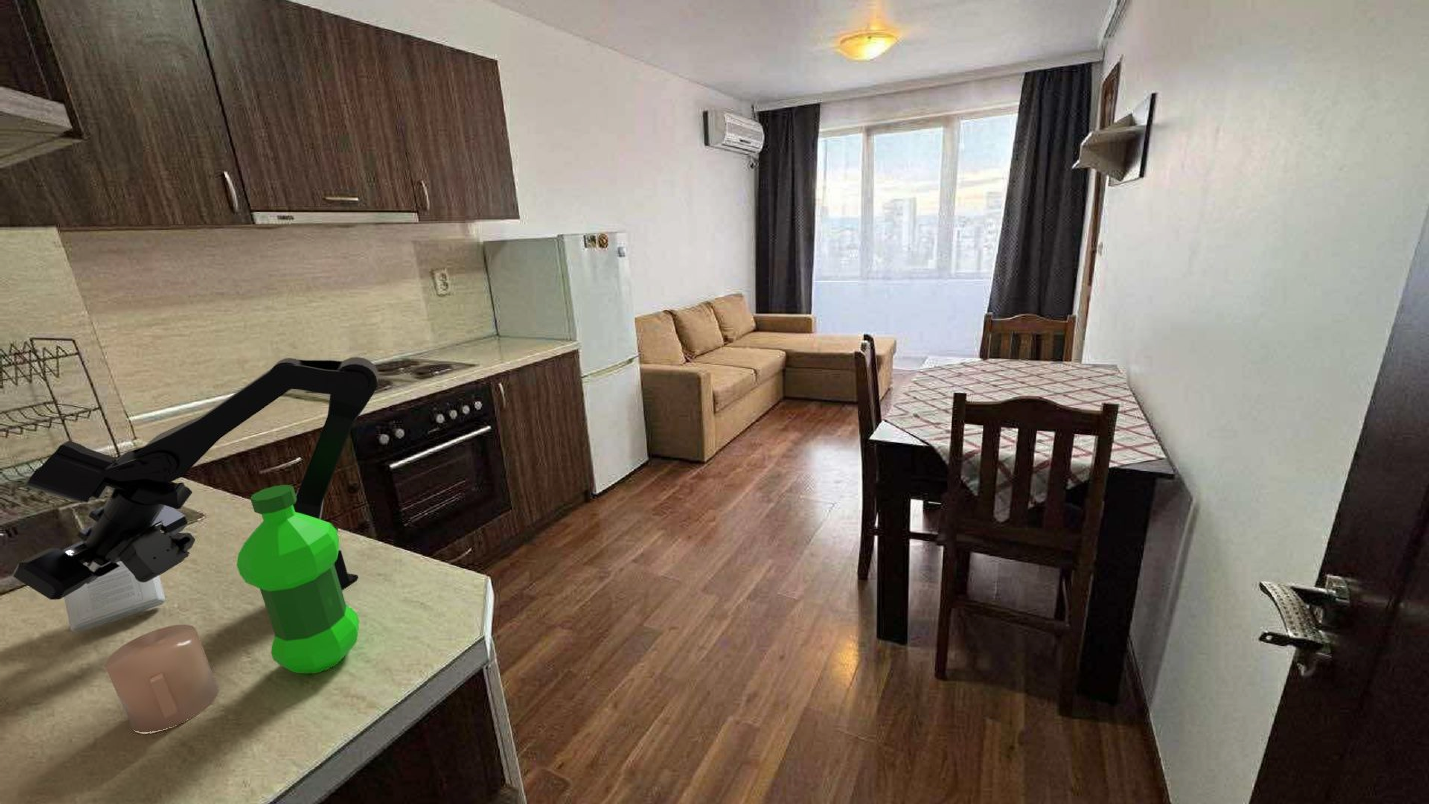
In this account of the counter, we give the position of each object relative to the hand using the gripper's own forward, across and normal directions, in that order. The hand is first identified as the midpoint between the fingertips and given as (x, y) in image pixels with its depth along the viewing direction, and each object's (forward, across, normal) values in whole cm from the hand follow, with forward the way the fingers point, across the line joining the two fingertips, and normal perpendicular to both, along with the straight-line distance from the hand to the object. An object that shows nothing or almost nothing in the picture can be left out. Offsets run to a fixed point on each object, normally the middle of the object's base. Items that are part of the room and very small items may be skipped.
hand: (87, 580), depth 84 cm
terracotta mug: (-12, -15, -24) cm, 31 cm away
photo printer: (+4, +1, -6) cm, 7 cm away
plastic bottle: (-22, -8, -34) cm, 41 cm away
